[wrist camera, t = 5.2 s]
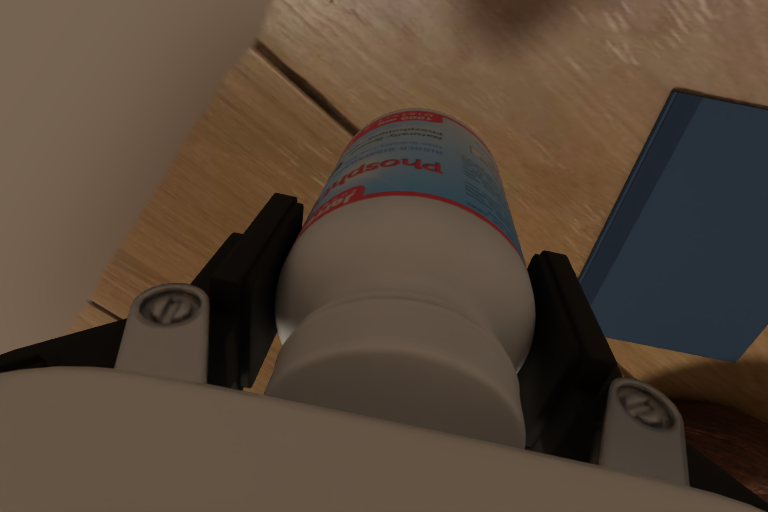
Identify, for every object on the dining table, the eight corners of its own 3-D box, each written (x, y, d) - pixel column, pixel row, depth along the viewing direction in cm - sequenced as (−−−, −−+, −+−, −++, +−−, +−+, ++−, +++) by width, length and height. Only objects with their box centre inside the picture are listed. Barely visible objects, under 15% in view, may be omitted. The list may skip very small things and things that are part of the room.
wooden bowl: (808, 502, 48) (892, 618, 39) (575, 538, 56) (601, 640, 47) (784, 345, 37) (891, 454, 29) (502, 417, 45) (518, 520, 37)
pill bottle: (421, 65, 15) (393, 221, 5) (529, 191, 17) (653, 472, 7) (306, 180, 17) (148, 422, 8) (411, 277, 19) (386, 565, 10)
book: (671, 90, 28) (675, 91, 28) (916, 138, 28) (924, 141, 28) (555, 324, 39) (556, 328, 38) (732, 359, 39) (736, 363, 38)
